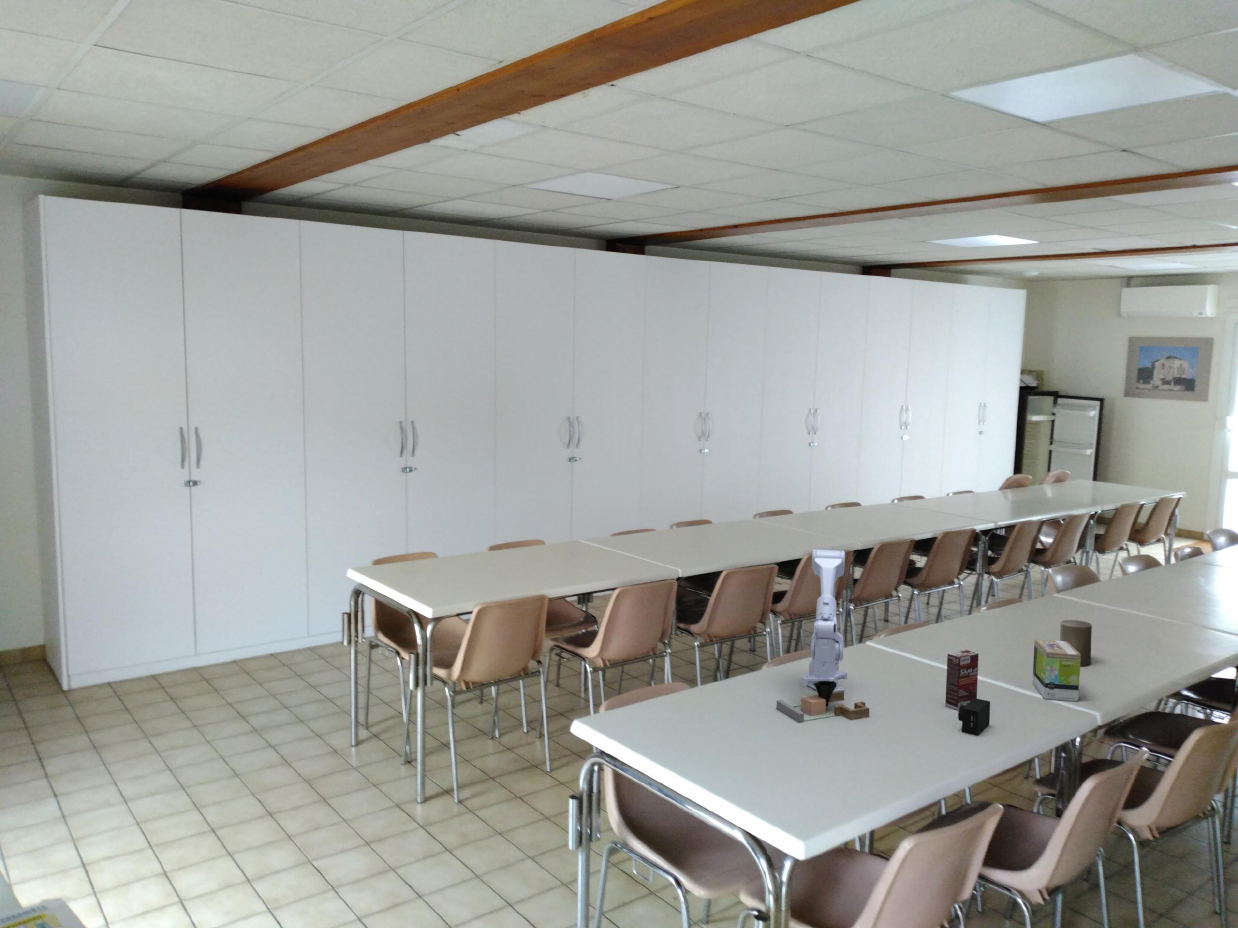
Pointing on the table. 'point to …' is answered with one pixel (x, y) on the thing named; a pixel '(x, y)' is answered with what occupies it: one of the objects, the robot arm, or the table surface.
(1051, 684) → the tea box
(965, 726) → the digital camera
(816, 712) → the block
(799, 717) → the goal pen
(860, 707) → the channel
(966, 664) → the supplement box
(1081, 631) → the pillar candle
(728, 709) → the table surface
